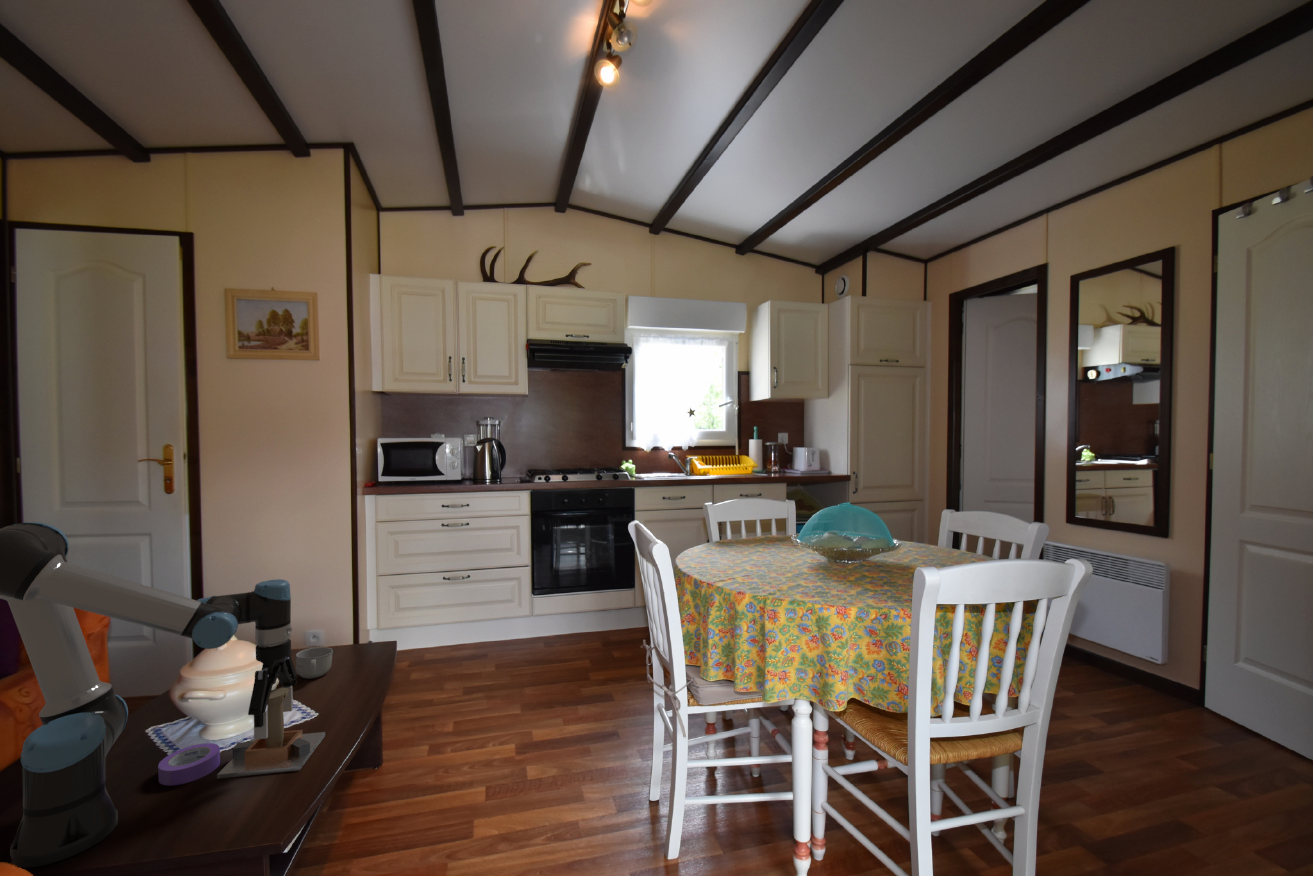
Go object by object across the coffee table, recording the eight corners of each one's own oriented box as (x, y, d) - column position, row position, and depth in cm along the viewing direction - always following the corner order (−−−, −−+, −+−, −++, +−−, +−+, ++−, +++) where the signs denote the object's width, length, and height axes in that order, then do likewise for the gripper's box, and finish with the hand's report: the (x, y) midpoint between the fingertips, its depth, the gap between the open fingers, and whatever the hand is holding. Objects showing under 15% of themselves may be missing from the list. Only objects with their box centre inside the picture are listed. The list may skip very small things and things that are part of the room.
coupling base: (217, 778, 135) (216, 762, 135) (251, 742, 151) (251, 727, 151) (299, 770, 138) (299, 754, 138) (325, 735, 154) (325, 721, 154)
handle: (256, 758, 141) (256, 698, 141) (274, 745, 148) (274, 687, 148) (275, 759, 141) (275, 698, 141) (292, 745, 148) (292, 687, 148)
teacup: (301, 670, 196) (301, 647, 196) (336, 666, 199) (336, 644, 199) (288, 688, 183) (288, 663, 182) (326, 683, 186) (325, 659, 186)
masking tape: (144, 786, 132) (144, 770, 132) (186, 757, 144) (186, 742, 144) (193, 786, 132) (193, 770, 132) (231, 757, 144) (231, 742, 144)
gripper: (265, 660, 132) (266, 749, 133) (310, 624, 157) (310, 699, 157) (229, 662, 131) (230, 752, 131) (280, 626, 156) (281, 702, 156)
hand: (274, 724), depth 144 cm, fingers open, 13 cm apart
